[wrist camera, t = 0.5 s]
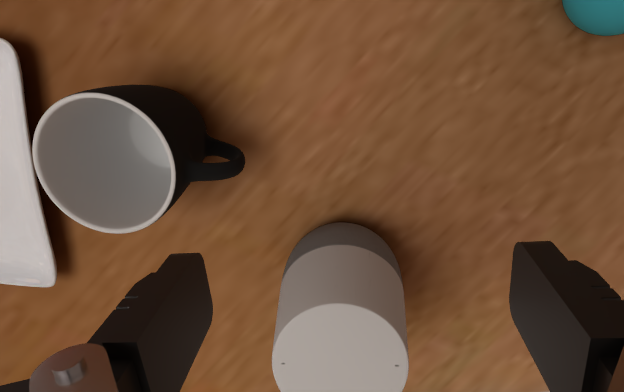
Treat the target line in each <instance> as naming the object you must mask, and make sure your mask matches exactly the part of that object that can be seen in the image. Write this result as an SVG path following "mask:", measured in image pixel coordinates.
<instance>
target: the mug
mask: <svg viewBox="0 0 624 392" xmlns="http://www.w3.org/2000/svg"><path fill="white" fill-rule="evenodd" d="M32 153H33V162H34V166H35V170H36V173H37V176H38V178H39V181H40V183H41V185H42V187H43V188H44V190H45V192H46V193H47V195H48V196H49V197H50V199H51V200H52V201H53V202H54V203H55V205H56V206H57V207H58V208H59V209H60V210H61V211H63V212H64V213H65V214H66V215H67V216H69V217H70V218H72V219H73V220H75V221H76V222H78V223H80V224H82V225H84V226H86V227H88V228H91V229H94V230H97V231H101V232H106V233H116V234H120V233H130V232H134V231H138V230H141V229H143V228H145V227H147V226H149V225H151V224H153V223H154V222H156V221H157V220H158V219H159V218H160V217H162V216H163V215H164V214H165V213H166V212H167V211H168V210H169V209H170V208H171V207H172V206H173V204H174V203H175V202H176V201H177V200H178V198H179V197H180V196H181V195H182V193H183V192H184V191H185V189H186V188H187V187H188V185H189V184H190V182H193V181H213V180H223V179H228V178H231V177H234V176H236V175H238V174H239V173H240V172H241V171H242V170H243V168H244V165H245V157H244V154H243V152H242V151H241V150H240V149H239V148H237V147H235V146H233V145H231V144H228V143H225V142H222V141H219V140H216V139H214V138H212V137H210V136H209V135H208V134H207V131H206V127H205V123H204V121H203V118H202V116H201V114H200V113H199V111H198V110H197V108H196V107H195V106H194V105H193V104H192V103H191V102H190V101H189V100H188V99H187V98H186V97H184V96H183V95H181V94H179V93H177V92H175V91H173V90H170V89H167V88H163V87H158V86H151V85H122V86H111V87H103V88H97V89H91V90H86V91H82V92H78V93H75V94H72V95H69V96H67V97H65V98H63V99H61V100H59V101H58V102H56V103H55V104H53V105H52V106H51V107H50V108H49V109H48V110H47V111H46V112H45V113H44V114H43V116H42V117H41V119H40V121H39V122H38V125H37V127H36V130H35V133H34V137H33V146H32ZM206 156H220V157H223V158H226V159H228V160H230V161H228V162H221V163H202V161H203V159H204V158H205V157H206Z"/></svg>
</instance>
